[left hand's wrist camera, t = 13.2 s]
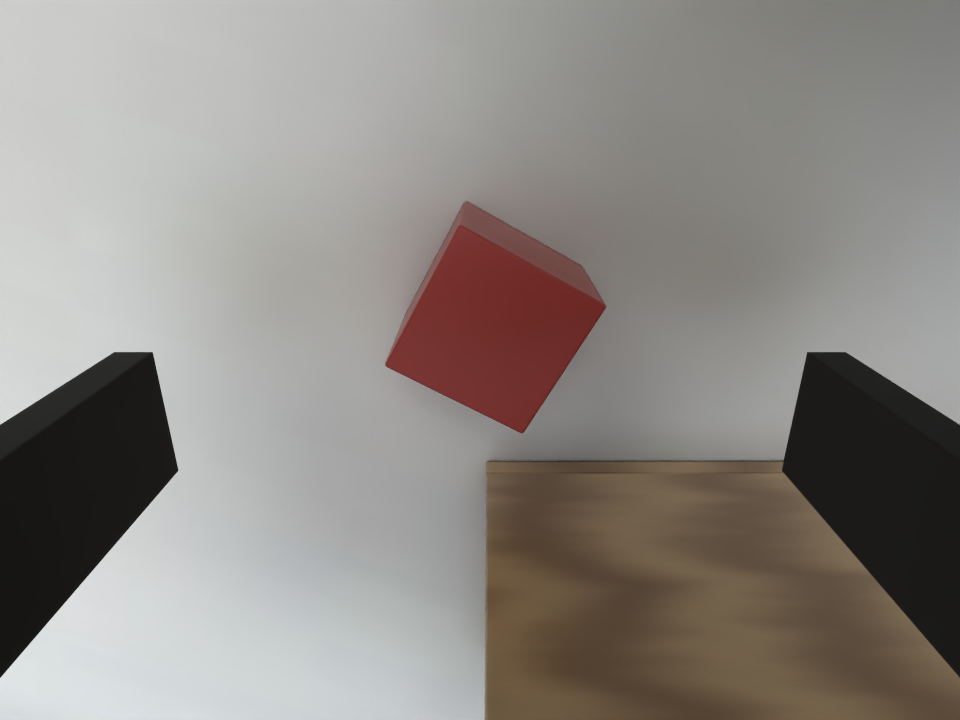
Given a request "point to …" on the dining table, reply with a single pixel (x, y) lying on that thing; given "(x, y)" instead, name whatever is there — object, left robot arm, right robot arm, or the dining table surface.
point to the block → (495, 319)
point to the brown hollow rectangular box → (688, 602)
